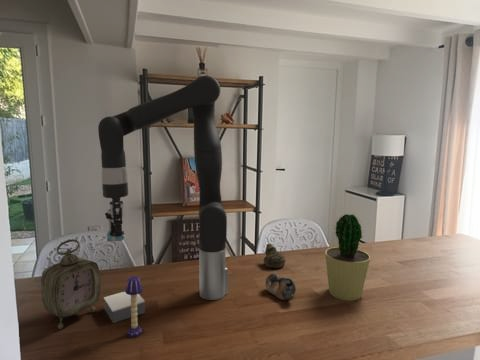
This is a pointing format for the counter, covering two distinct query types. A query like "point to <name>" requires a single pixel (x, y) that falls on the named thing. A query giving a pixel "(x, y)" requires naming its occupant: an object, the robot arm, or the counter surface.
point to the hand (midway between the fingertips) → (118, 234)
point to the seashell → (273, 257)
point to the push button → (111, 229)
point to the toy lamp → (134, 305)
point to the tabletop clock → (70, 285)
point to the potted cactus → (347, 261)
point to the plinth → (122, 306)
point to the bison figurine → (281, 286)
